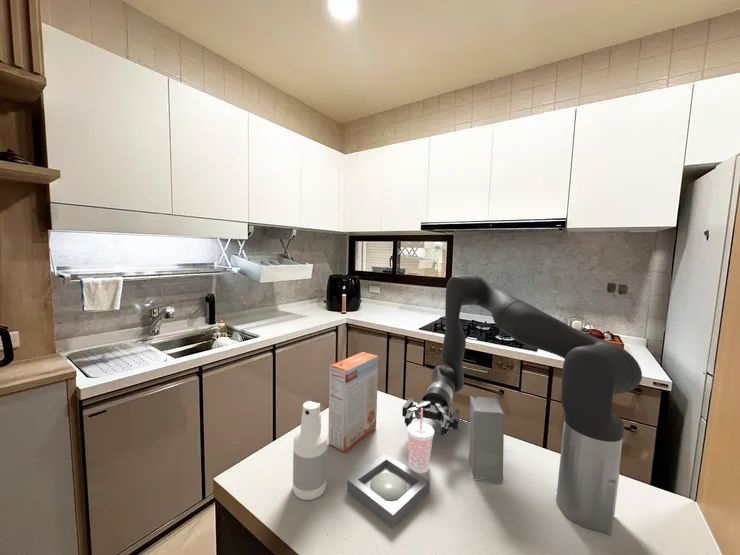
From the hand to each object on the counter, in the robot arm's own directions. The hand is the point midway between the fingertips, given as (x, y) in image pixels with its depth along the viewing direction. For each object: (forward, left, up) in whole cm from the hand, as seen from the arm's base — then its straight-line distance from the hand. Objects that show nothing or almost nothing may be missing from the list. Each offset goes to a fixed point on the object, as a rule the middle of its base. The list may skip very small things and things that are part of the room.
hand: (424, 427), depth 75 cm
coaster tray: (-1, +15, -8) cm, 16 cm away
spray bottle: (+11, +26, -8) cm, 29 cm away
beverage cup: (-1, +4, -8) cm, 9 cm away
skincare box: (-12, -6, -8) cm, 16 cm away
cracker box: (+18, +7, -8) cm, 21 cm away
